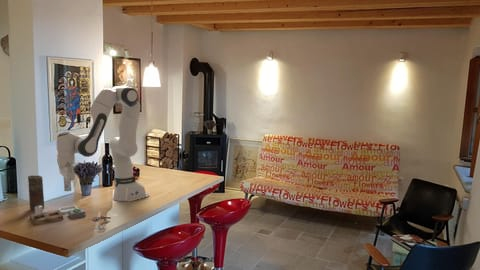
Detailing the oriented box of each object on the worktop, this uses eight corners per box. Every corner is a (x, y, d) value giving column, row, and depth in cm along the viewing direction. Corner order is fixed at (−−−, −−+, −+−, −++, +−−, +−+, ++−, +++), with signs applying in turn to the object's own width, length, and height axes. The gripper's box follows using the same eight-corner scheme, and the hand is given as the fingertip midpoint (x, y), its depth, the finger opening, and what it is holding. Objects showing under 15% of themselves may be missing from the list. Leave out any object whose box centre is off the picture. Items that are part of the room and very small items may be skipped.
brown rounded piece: (31, 208, 214) (29, 174, 212) (45, 206, 217) (43, 173, 214) (28, 212, 207) (26, 178, 205) (43, 211, 210) (41, 177, 207)
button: (79, 212, 205) (78, 207, 204) (80, 213, 202) (80, 208, 202) (73, 213, 203) (73, 208, 202) (74, 214, 201) (74, 209, 200)
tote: (75, 207, 216) (75, 205, 216) (78, 211, 210) (78, 209, 210) (58, 210, 211) (58, 208, 211) (61, 214, 204) (61, 212, 204)
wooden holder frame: (58, 213, 206) (58, 209, 205) (63, 220, 196) (63, 216, 196) (30, 219, 197) (30, 214, 197) (33, 226, 188) (33, 221, 188)
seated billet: (42, 219, 197) (41, 205, 196) (43, 221, 194) (43, 206, 193) (35, 220, 195) (34, 206, 194) (36, 222, 192) (35, 208, 191)
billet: (70, 189, 211) (69, 175, 210) (72, 190, 208) (71, 176, 207) (63, 190, 209) (62, 176, 208) (65, 191, 206) (64, 177, 205)
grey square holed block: (82, 213, 208) (82, 208, 207) (85, 216, 202) (85, 211, 202) (68, 215, 203) (68, 210, 203) (71, 219, 198) (71, 214, 198)
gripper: (76, 163, 200) (78, 188, 202) (68, 157, 216) (69, 180, 218) (64, 165, 196) (65, 190, 198) (56, 158, 212) (57, 181, 214)
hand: (67, 184), depth 208 cm, fingers closed on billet, 4 cm apart
